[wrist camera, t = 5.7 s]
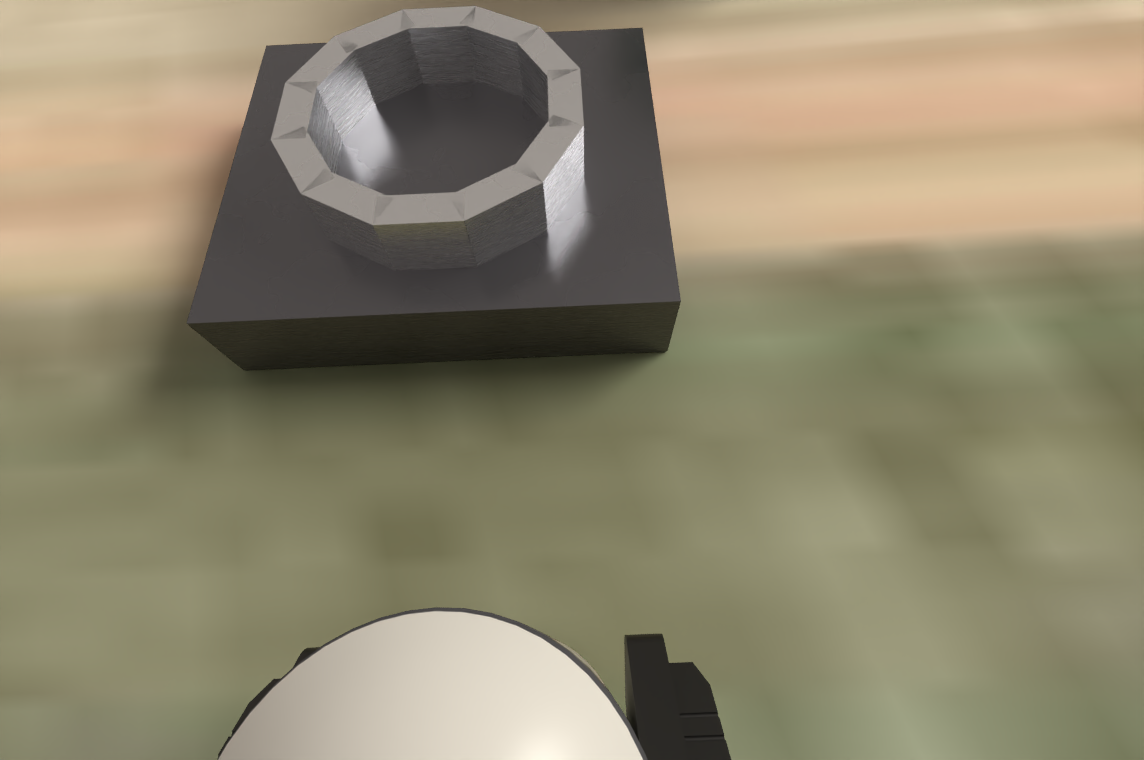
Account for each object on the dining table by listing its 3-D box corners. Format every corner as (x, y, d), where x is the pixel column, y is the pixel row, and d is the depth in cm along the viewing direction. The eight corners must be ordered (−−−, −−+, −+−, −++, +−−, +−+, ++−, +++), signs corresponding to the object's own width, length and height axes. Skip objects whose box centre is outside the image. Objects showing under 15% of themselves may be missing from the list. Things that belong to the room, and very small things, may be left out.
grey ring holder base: (636, 98, 24) (647, -30, 20) (667, 351, 19) (692, 257, 14) (302, 113, 24) (236, -11, 20) (243, 370, 19) (136, 282, 14)
